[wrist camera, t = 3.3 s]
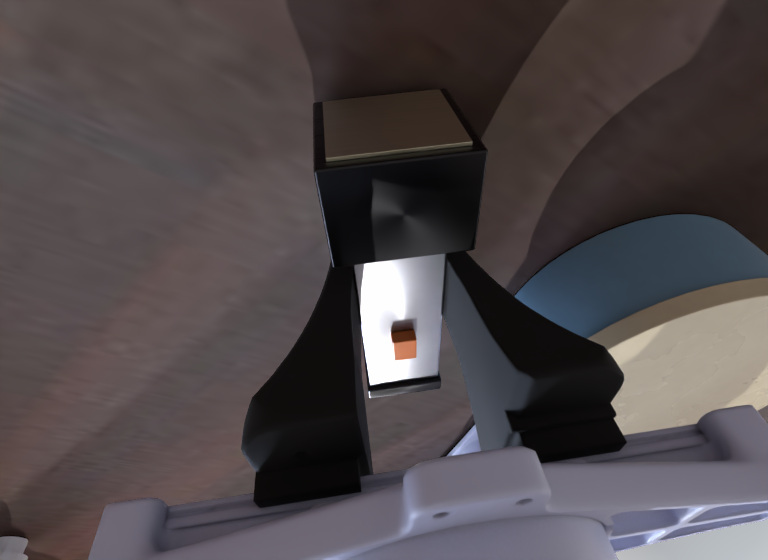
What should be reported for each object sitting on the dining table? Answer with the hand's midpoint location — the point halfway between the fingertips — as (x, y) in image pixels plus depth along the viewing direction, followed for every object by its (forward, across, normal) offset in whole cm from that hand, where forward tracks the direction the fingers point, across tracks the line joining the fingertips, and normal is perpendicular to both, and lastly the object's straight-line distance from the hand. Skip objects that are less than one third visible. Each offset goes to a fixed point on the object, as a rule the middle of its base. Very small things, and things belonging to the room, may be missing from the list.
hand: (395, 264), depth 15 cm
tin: (+2, -12, +7) cm, 14 cm away
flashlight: (+1, 0, 0) cm, 1 cm away
